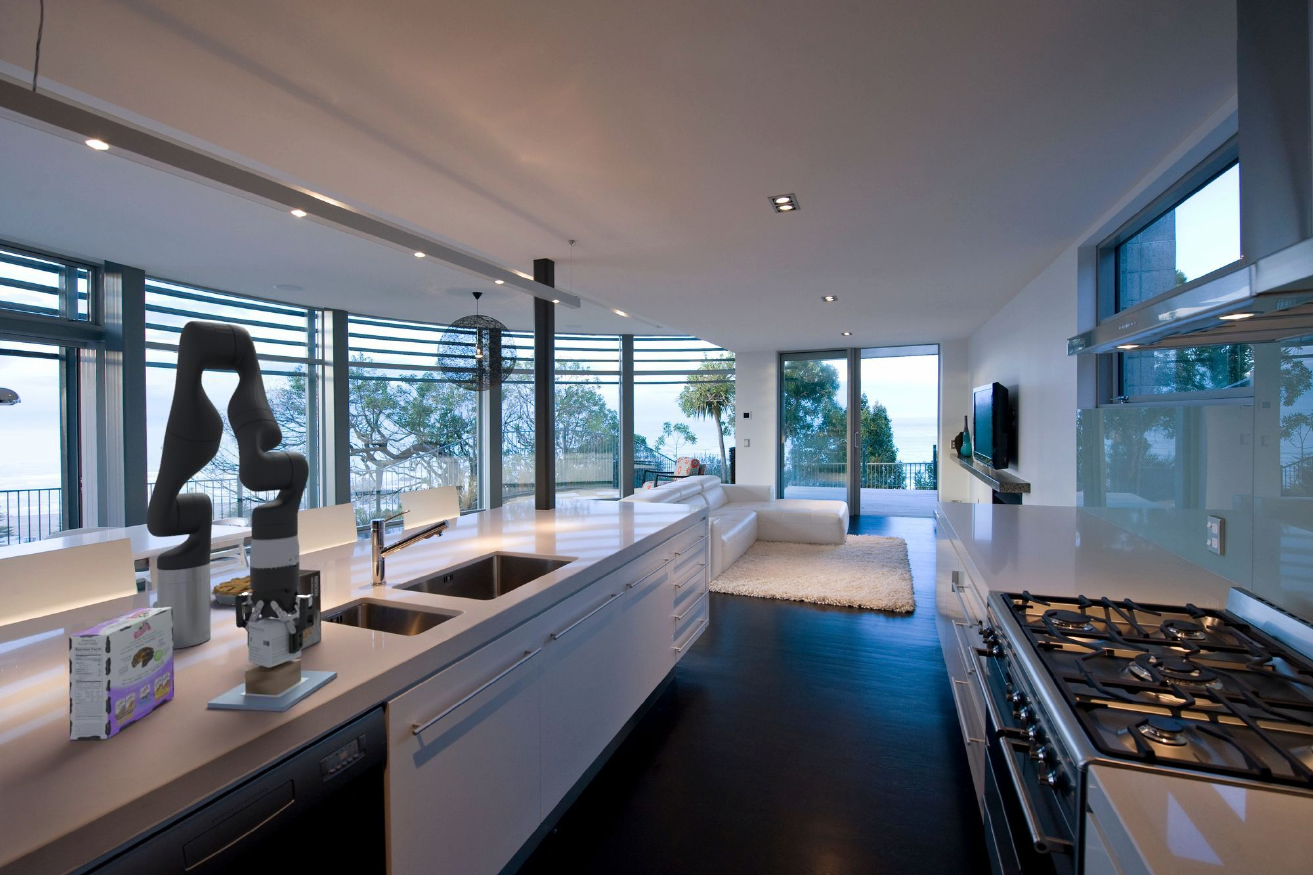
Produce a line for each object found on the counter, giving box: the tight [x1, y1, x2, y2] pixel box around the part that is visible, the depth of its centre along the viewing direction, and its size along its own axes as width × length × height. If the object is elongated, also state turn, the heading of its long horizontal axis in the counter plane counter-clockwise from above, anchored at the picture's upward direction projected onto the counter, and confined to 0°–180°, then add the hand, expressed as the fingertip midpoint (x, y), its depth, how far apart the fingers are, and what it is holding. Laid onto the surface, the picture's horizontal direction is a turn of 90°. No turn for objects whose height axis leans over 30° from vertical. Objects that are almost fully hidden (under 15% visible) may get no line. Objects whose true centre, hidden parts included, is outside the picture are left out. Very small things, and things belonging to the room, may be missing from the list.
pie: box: [211, 574, 253, 605], centre depth 164 cm, size 22×22×5 cm
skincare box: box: [248, 615, 302, 668], centre depth 105 cm, size 6×6×7 cm
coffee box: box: [288, 568, 322, 650], centre depth 126 cm, size 9×6×16 cm
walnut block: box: [244, 658, 302, 695], centre depth 105 cm, size 6×6×4 cm
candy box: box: [68, 607, 175, 741], centre depth 95 cm, size 14×6×16 cm, turn 5°
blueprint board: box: [206, 669, 338, 712], centre depth 105 cm, size 14×14×1 cm
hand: (275, 650), depth 105 cm, fingers closed on skincare box, 7 cm apart
